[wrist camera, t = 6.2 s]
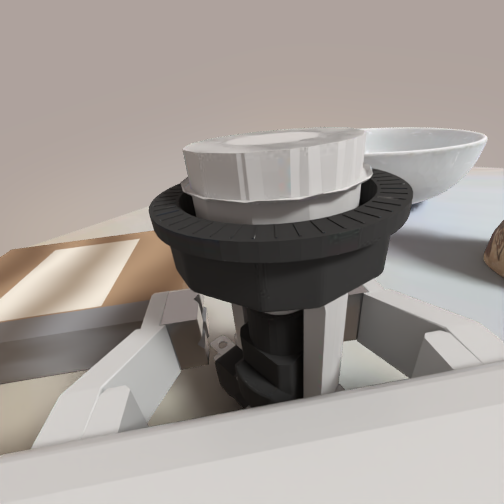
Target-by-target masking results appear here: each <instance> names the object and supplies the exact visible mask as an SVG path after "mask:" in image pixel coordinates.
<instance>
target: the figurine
mask: <svg viewBox="0 0 504 504" xmlns="http://www.w3.org/2000/svg"><path fill="white" fill-rule="evenodd" d="M484 261H485V263H486V264H487V266H488V267H490V268H491V269H492V270H493V271H495V272H496V273H497V274H499V275H500V276H502V277H503V278H504V220H503V221H502V222H501V224H500V225H499V226H498V227H497V228H496V229H495V231H494V233H493V234H492V236H491V238H490V241H489V243H488V245H487V248H486V250H485V252H484Z"/></svg>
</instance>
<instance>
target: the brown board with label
mask: <svg viewBox="0 0 504 504" xmlns="http://www.w3.org/2000/svg"><path fill="white" fill-rule="evenodd" d="M188 288H189V287H188V286H187V284H186V283H185V281H184V280H183V279H182V277H181V276H180V274H179V273H178V271H177V270H176V266H175V263H174V259H173V255H172V252H171V248H170V246H169V245H167V244H165V243H164V242H163V241H161V240H160V239H159V238H158V237H157V235H156V233H155V232H154V231H148V232H140V233H133V234H125V235H118V236H110V237H103V238H95V239H88V240H80V241H73V242H65V243H58V244H50V245H43V246H35V247H28V248H20V249H13V250H10V251H9V252H7V253H6V254H4V255H3V256H1V257H0V384H3V383H9V382H15V381H21V380H27V379H33V378H39V377H45V376H51V375H57V374H63V373H69V372H75V371H81V370H87V369H91V368H92V367H93V366H94V365H95V364H96V363H98V362H99V361H100V360H101V359H102V358H103V357H104V356H106V355H107V354H108V353H109V352H110V351H111V350H113V349H114V348H115V347H116V346H117V345H118V344H120V343H121V342H122V341H123V340H124V339H125V338H126V337H128V336H129V335H130V334H131V333H132V332H133V331H135V330H137V329H141V326H142V323H143V320H144V317H145V314H146V311H147V308H148V305H149V302H150V299H151V296H152V295H153V294H154V293H159V292H166V291H173V290H181V289H188Z"/></svg>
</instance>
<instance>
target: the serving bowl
mask: <svg viewBox="0 0 504 504" xmlns="http://www.w3.org/2000/svg"><path fill="white" fill-rule="evenodd" d="M361 130H364V131H367V133H366V143H365V152H364V163H367V164H369V165H370V166H371V168H374V169H379V170H382V171H386V172H389V173H392V174H394V175H396V176H398V177H400V178H402V179H404V180H405V181H406V182H408V183H409V185H410V186H411V187H412V189H413V199H412V204H415V203H419V202H422V201H425V200H428V199H430V198H433V197H435V196H437V195H439V194H441V193H443V192H445V191H447V190H448V189H450V188H451V187H453V186H454V185H455V184H457V183H458V182H459V181H460V180H461V179H462V178H463V177H464V176H466V174H467V173H468V172H469V171H470V170H471V168H472V167H473V166H474V164H475V163H476V161H477V159H478V158H479V156H480V154H481V152H482V150H483V148H484V146H485V144H486V142H487V139H488V138H487V136H486V135H484V134H482V133H478V132H473V131H467V130H458V129H445V128H415V127H414V128H413V127H412V128H411V127H410V128H365V129H361Z"/></svg>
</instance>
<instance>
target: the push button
mask: <svg viewBox="0 0 504 504" xmlns="http://www.w3.org/2000/svg"><path fill="white" fill-rule="evenodd" d="M366 133H367V131H364V130H361V129H354V128H335V127H334V128H332V127H327V128H326V127H323V128H322V127H320V128H299V129H284V130H273V131H263V132H253V133H246V134H238V135H230V136H226V137H218V138H214V139H208V140H204V141H200V142H196V143H192V144H189V145H187V146H186V147H185V148H183V154H184V159H185V164H186V169H187V174H188V177H187V178H186V179H184V180H183V181H182V182H181V183H180V184H178V185H175V186H173V187H172V188H169V189H167V190H166V191H164V192H162V193H161V194H159V195H158V196H157V197H156V198H155V199H154V200H153V201H152V203H151V204H150V206H149V214H150V218H151V221H152V225H153V228H154V232H155V233H156V235H157V237H158V238H159V239H160V240H161V241H163V242H164V243H165V244H167V245H169V246H170V248H171V252H172V255H173V259H174V263H175V266H176V270H177V271H178V273H179V274H180V276H181V277H182V279H183V280H184V281H185V283H186V284H187V286H188V287H189V288H190V289H191V290H192V291H194V292H196V293H199V294H203V295H206V296H209V297H213V298H216V299H220V300H223V301H226V302H230V303H231V304H232V310H233V316H234V322H235V328H236V333H235V342H236V344H234V343H233V342H232V341H231V340H230V339H228V338H227V337H226V336H225V335H221V336H219V337H218V338H216V339H215V340H214V341H212V342H211V343H210V346H211V347H212V348H213V349H214V350H215V351H216V352H217V353H218V354H217V355H215V356H214V358H213V359H214V361H215V365H216V369H217V373H218V377H219V381H220V384H221V386H222V387H223V389H224V390H225V391H226V392H227V393H228V394H229V395H230V396H231V397H234V398H235V399H236V401H237V402H238V403H239V404H240V405H241V406H242V407H243V408H244V409H248V408H254V407H259V406H264V405H270V404H275V403H280V402H286V401H291V400H297V399H302V398H307V397H313V396H318V395H323V394H329V393H334V392H339V391H345V389H344V388H343V387H342V386H341V385H340V384H339V376H340V366H341V357H342V347H343V338H344V328H345V319H346V309H347V300H348V292H350V291H352V290H354V289H356V288H358V287H359V286H361V285H363V284H365V283H367V282H368V281H370V280H372V279H374V278H376V277H378V276H379V275H380V274H381V273H382V272H383V270H384V265H385V260H386V255H387V250H388V245H389V239H390V235H392V234H393V233H395V232H396V231H397V230H399V229H400V228H401V227H402V226H403V225H404V224H405V222H406V221H407V219H408V217H409V214H410V209H411V204H412V199H413V189H412V187H411V186H410V185H409V183H408V182H406V181H405V180H404V179H402V178H400V177H398V176H396V175H394V174H392V173H389V172H386V171H382V170H379V169H374V168H371V166H370V165H369V164H367V163H364V152H365V143H366ZM222 342H226V343H227V346H226V347H225V348H219V347H218V346H219V344H220V343H222Z"/></svg>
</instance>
